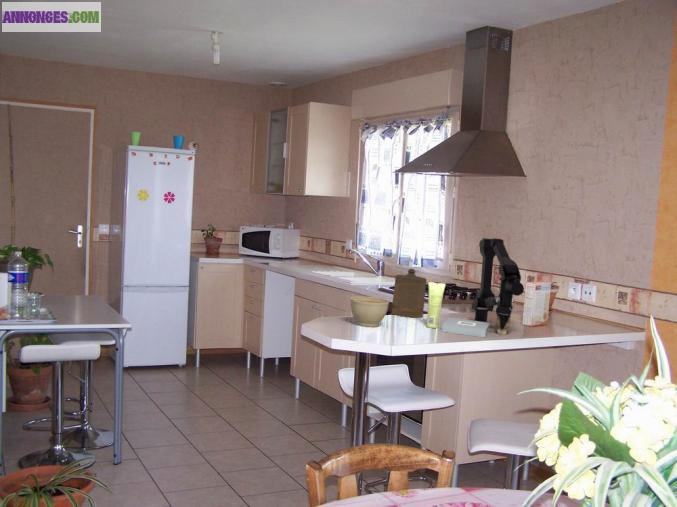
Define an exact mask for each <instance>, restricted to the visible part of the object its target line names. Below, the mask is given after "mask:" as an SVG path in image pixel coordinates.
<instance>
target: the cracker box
mask: <svg viewBox="0 0 677 507" xmlns="http://www.w3.org/2000/svg"><path fill="white" fill-rule="evenodd" d="M551 287H552V282H550V281H549V282H547V281H526V283H525V288H524V291H525V292H524V301H523V311H522V313H523V314H522V323H521V324H522V325H523V326H525V325H527V326H526V327H531V328H533V327H539V326H540V327H541V326H547V325H548V318H549V309H550V301H551V300H550V299H551V289H552V288H551Z"/></svg>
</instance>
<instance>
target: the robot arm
mask: <svg viewBox="0 0 677 507" xmlns="http://www.w3.org/2000/svg"><path fill="white" fill-rule="evenodd" d="M504 242H505V241H504V239H502V238H495V237H493V238H487V237H483V238H482V239H481V240H480V241H479V242H478V243H479V244H478V246H479V253H480V254H481V256H482V263H481V264H482V265H481V276H480V288H479V290H478V291H477V293H475V294H476V296H475V298H474V300H473V302H472V303H471V310H473V311H475V313H474V320H473V321H480V322H487V323H489V322H488V315H489V314H488V313H489V312H493V310H494V307H495V306H496V309H495V313H496V316H497V315H498V316H499V318H500V328H501V329H502V330H503V329H504V327H505V325H506V323H507V321H508V319H509V317H510V316H511V315H512V312H513V309H514V308H513V307H514V305H513V298H514V296H516V297H519V296H520V295H523V293H524V291H525V287H524V285H523V284H522V282H521V281H522V276H521V273H520V269H519V266H518V264H517V262H516V261H515V260H513V259H512V258H511V257H510V254H509V253H508V251H507V248H506V246H505V244H504ZM495 256H496V258H497V261H498V263H499V266H498V272H499V274H500V277H499V281H500V287H499V293H498V295H497V296H495V295H496V294H495V293H493V290H492V277H493V268H494V258H495Z"/></svg>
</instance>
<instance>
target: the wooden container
mask: <svg viewBox="0 0 677 507" xmlns="http://www.w3.org/2000/svg"><path fill="white" fill-rule="evenodd" d="M407 272H408V273H407V274H405V275H404V274H398V275H397V274H396V275H395V278H394V279H395V281H394V285H393V287H394V288H393V296H392V306H391V314H392V315H395V316H397V317H398V316H399V317H402V318H413V319H414V318H415V319H418V318H423V317H424V308H425V296H426V285H427V284H426V283H427V278H425V277H422V276H417V275H416V274H415V273H416V270H415V269H414V268H410V269H408V270H407Z"/></svg>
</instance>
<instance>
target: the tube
mask: <svg viewBox="0 0 677 507" xmlns="http://www.w3.org/2000/svg"><path fill="white" fill-rule="evenodd" d="M427 284H428V297H427V298H428V300H427V302H428V303H427V314H426V315H427V316H426V327H427V328H431V329H438V327H439V321H440V317H441V316H440V315H441V307H442V302H443V298H444V294H445V293H444V291H445V288H446V283H443V282H442V283H441V282H431V281H428V283H427Z"/></svg>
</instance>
